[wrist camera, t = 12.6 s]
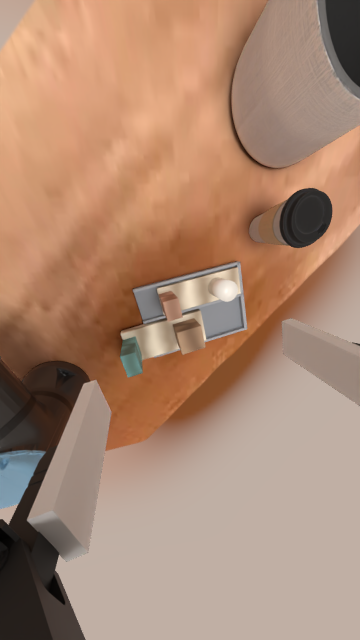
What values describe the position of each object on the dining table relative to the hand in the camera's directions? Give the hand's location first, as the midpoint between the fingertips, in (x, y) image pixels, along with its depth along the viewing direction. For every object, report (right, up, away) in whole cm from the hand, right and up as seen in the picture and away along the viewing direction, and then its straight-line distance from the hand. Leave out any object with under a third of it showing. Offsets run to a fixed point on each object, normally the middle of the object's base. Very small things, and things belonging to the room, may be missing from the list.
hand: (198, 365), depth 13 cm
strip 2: (-5, 0, +36) cm, 37 cm away
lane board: (+2, +6, +36) cm, 36 cm away
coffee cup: (+18, +25, +33) cm, 45 cm away
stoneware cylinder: (+7, +11, +32) cm, 35 cm away
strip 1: (+3, +11, +35) cm, 36 cm away
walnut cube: (0, 0, +34) cm, 34 cm away
